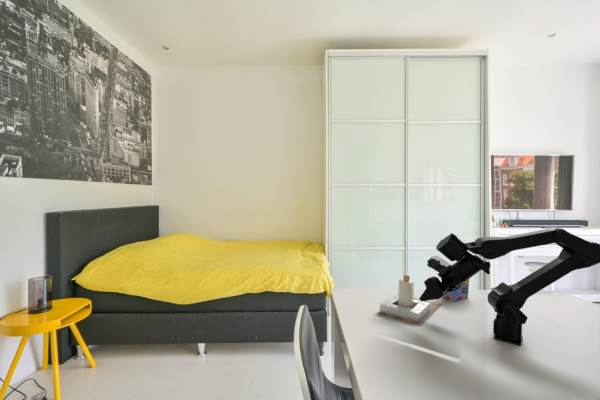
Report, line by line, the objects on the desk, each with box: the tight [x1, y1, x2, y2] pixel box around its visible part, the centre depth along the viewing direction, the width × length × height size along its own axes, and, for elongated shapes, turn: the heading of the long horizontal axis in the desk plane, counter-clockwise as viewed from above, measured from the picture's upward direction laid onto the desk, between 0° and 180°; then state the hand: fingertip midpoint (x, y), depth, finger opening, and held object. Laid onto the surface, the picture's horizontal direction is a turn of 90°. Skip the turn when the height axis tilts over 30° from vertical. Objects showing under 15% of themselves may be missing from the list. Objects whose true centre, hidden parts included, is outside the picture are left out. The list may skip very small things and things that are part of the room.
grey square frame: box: [379, 294, 430, 323], centre depth 108 cm, size 13×13×3 cm
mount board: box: [376, 297, 443, 327], centre depth 111 cm, size 15×25×1 cm, turn 141°
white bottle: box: [397, 274, 415, 309], centre depth 108 cm, size 5×5×13 cm
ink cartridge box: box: [441, 279, 470, 302], centre depth 124 cm, size 10×6×14 cm, turn 120°
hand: (426, 296), depth 102 cm, fingers open, 9 cm apart
